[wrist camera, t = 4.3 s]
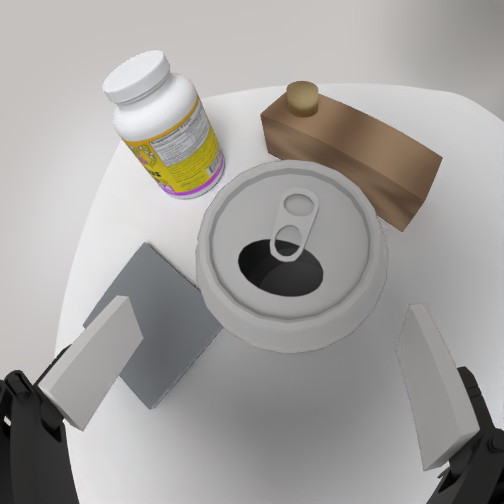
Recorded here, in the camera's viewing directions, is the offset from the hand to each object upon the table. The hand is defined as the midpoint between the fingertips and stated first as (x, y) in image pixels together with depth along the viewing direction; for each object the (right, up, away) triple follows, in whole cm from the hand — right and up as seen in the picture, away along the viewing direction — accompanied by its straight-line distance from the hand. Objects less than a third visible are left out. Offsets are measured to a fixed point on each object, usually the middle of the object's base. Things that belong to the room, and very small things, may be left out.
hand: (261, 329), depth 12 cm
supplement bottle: (-6, +11, +14) cm, 19 cm away
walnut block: (+8, +11, +11) cm, 17 cm away
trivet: (-9, -3, +9) cm, 13 cm away
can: (+3, 0, +8) cm, 9 cm away
